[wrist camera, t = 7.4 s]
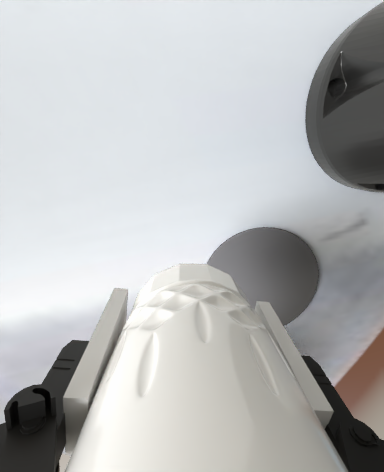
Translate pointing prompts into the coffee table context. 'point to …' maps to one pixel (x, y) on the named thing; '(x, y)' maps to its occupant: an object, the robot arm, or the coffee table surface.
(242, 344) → the white cup
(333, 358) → the coffee table surface
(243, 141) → the coffee table surface
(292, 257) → the pad
